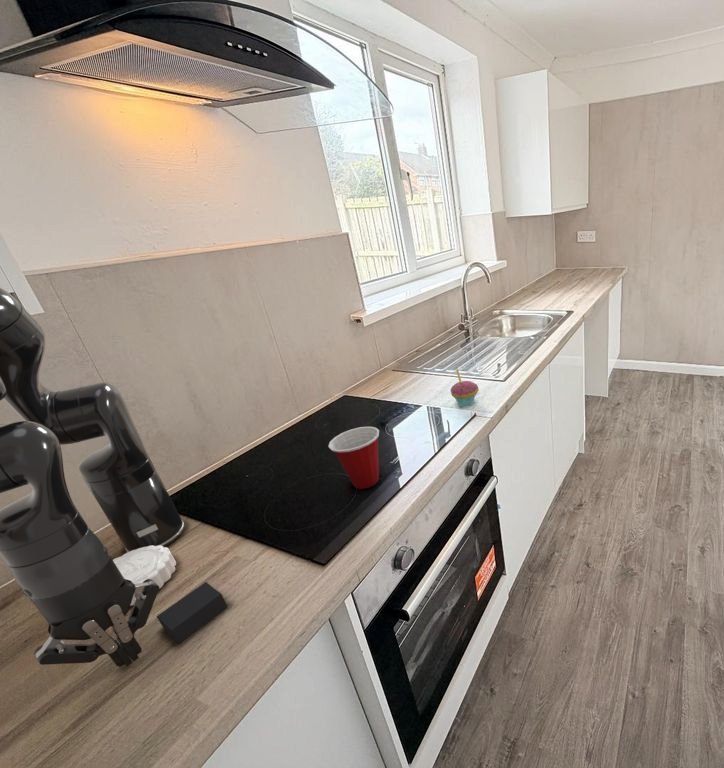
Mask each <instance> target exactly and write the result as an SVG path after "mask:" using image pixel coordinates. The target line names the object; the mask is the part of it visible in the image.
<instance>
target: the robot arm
mask: <svg viewBox="0 0 724 768" xmlns="http://www.w3.org/2000/svg"><path fill="white" fill-rule="evenodd" d="M46 343H47V342H46V335H45V332H44V329H43V328H42V326H41V325H40V323H38V321H37V320H36V319H35V318H34V317H33V316H32V315H31V314H30V312H28V311H27V309H26V308H25V307H24V306H23V305H22V304H21V302H19V301H18V300H17V299H16V298H15V297H14V296H13V294H11V293H10V292H8V291H7V290H5V289H4V288H2V287H1V286H0V401H2V400H3V401H4V402H6V403H7V404H8V405H9V407H11V408H12V409H13V411H15V413H17V414H18V415H19V416H20V418H21V419H22V420H23V421H22V420H21V421H15V422H10V423H8V424H4V425H0V494H3V493H5V492H8V491H12V490H15V489H19V488H22V487H24V486H28V485H30V487H31V488H32V490H31V492H29V493H27V494H26V495H25V496H23V497H20V498H19V499H17V500H15V501H14V502H11V503H10V504H8V505H6V506H4V507H3V508H1V509H0V557H1V558H2V560H3V561H4V563H5V564H6V565H7V566H8V568H9V570H10V572H11V574H12V577H13V579H14V580H15V582H16V584H18V586H19V587H20V589H21V591H22V594H24V595H25V596H26V597H27V598H28V599H29V601H31V603H32V604H33V605H34V606H35V608H36V609H37V610H38V612H39V613H40V614H41V615H42V617H43V618H44V620H46V622H47V623H48V627H47V632H48V634H49V636H48V638H47V639H46V641H45V642H44V644H41V645H40V646H37V647H36V648H35V649H34V652H33V654H34V656H35V658H36V660H37V662H38V664H39V665H42V666H46V665H67V664H89V663H90V664H91V663H93V662H95V661H97V660H98V659H99V657H101V656H103V655H108V657H109V658H110V659H111V660H112V662H113V663H114V665H115V666H116V667H119V668H121V667H122V666H124V665H125V666H126V667H129V666H130V665H132V664H133V663H134V662H136V661H137V660H139V659H140V657H139V654H141V653H142V651H143V650H142V647H141V645H140V644H139V642H138V641H137V639H136V638H135V634H136V632H137V631H138V630H140V629H143V628H144V627H145V626H146V624H147V622H148V620H149V616H150V614H151V611H152V609H153V606H154V603H155V601H156V598H157V595H158V593H159V590H160V589H159V586H158V585H157V584H156V583H155V582H154V581H153V580H152V579H146V580H145V581H144V582H143V583H137V584H133V583H132V582H131V581H130V580H127V579H124V577H123V576H122V574H121V573H120V571H119V569H118V568H117V566H116V565H115V563H114V562H113V560H114V559H113V558H112V556H111V555H110V554H109V551H108V550H109V549H108V548H107V546H105V545H104V544H103V542H102V541H101V539H100V538H99V537H98V535H96V533H94V532H93V530H91V529H90V527H89V526H88V524H87V523H86V521H85V520H84V518H83V516H82V515H81V513H80V512H79V509H77V507H76V505H75V504H74V502H73V500H72V497H71V495H70V491H69V489H68V486H67V485H68V484H67V482H66V477H65V469H64V460H63V452H62V446H65V445H73V444H77V443H82V442H86V441H89V440H94V439H97V438H102V437H105V436H106V438H107V439H108V441H109V442H108V443H107V444H105V445H104V446H102V447H101V448H99V449H97V450H95V451H94V452H92V453H90V454H89V455H87V456H86V457H85V458H83V459H82V460H81V461H80V463H79V464H78V466H77V468H78V472H79V474H80V476H81V477H82V479H83V481H84V482H85V484H86V486H87V488H88V489H89V491H90V492H91V494H92V495H93V497H94V498H95V500H96V502H97V504H98V505H99V507H100V508H101V510H102V512H103V513H104V515H105V517H106V518H107V520H108V522H109V523H110V525H111V527H112V528H113V530H114V531H115V534H116V535H117V537H118V538H119V540H120V542H121V544H122V545H123V547H124V550H125V551H126V553H127V552H130V551H132V550H136V549H138V548H142V547H148V546H151V545H153V546H158V545H161V546H163V547H166V546H168V545H170V544H172V543H174V541H175V540H177V539H178V538H179V537H180V536H181V535H182V534H183V532H184V531H185V529H186V524H185V522H184V520H183V519H182V517H181V516H180V513H179V512H178V509H177V507H176V505H175V503H174V501H173V499H172V498H171V496H170V494H169V492H168V490H167V488H166V486H165V484H164V482H163V481H162V478H161V476H160V475H159V472H158V471H157V469H156V467H155V465H154V463H153V461H152V459H151V457H150V456H149V454H148V452H147V449H146V447H145V445H144V442H143V439H142V437H141V435H140V433H139V431H138V429H137V427H136V425H135V423H134V420H133V418H132V416H131V413H130V410H129V408H128V405H127V403H126V401H125V399H124V397H123V395H122V393H121V392H120V391H119V389H118V388H117V387H115V386H114V385H113V384H111V383H110V382H96V383H91V384H86V385H81V386H76V387H71V388H66V389H61V390H56V391H54V390H51V389H49V388H47V387H45V385H43V383H42V382H41V381H40V372H41V367H42V363H43V360H44V356H45V352H46V345H47V344H46ZM134 593H135V594H134ZM133 596H135V597H136V601H135V603H134V605H132V609H131V611H130V614H129V617H128V619H126V615H127V614H128V612H129V610H130V607H131V606H130V604H131V601H132V598H133ZM109 628H111V629H112V630H113V633H114V634H115V636H116V637H117V638H116V639H114V638H113V637H111V635H110V634H109V633H108V632H107V630H108V629H109ZM91 639H92V640H93V641H94V642H95V643H81V644H79V643H75V644H71V643H70V644H69V643H68V644H66V642H65V640H66V641H87V640H91Z"/></svg>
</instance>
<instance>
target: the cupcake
mask: <svg viewBox="0 0 724 768" xmlns="http://www.w3.org/2000/svg"><path fill="white" fill-rule="evenodd" d="M455 372H456V375H457V379H458V382H456V383H454V384H453V385H452V386H451V388H450V392H451V393H450V394H451V397H452V398H454V399H455V401H456V402H457V404H458V406H459V407H470V406H472V405H473V404H474V402H475V397H476V395H477V394H478V393H479V391H480V388H479V385H478V384H477V383H475V382H473V381H471V380H462V378H461V373H460V371H459V368H458V367H457V366H455Z"/></svg>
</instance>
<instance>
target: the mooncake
mask: <svg viewBox="0 0 724 768" xmlns="http://www.w3.org/2000/svg"><path fill="white" fill-rule="evenodd" d="M112 560H113V562H114V563H115V565H116V566H117V568H118V569H119V571H120V573H121V574H122V576H123V577H124V579H127V580H130V581H131V582H132V583H133V584H137V583H143V582H144V581H145V580H146V579H152V580H153V581H154V582H155V583H156V584H157V585H158V586H159V590H160V589H161V588H162V587H163V586H164V585H165V583H166V582H168V581H169V580H170V579H171V577H172V574H174V572H175V571H176V567H175V566H176V565H177V561H176V560H175V558H174V556H173V554H172V552H171V551H170V549H169V548H168V547H166V546H165V547H163V546H161V545H158V546H153V545H151V546H148V547H142V548H138V549H136V550H132V551H130V552H127V551H126V552H125V553H124V554H123V555H122V556H119V557H116V558H114V559H112ZM134 594H135V593H134ZM135 601H136V597H135V596H133V598H132V601H131V604H130V607H133V606H134V603H135Z"/></svg>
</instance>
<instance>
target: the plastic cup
mask: <svg viewBox="0 0 724 768" xmlns="http://www.w3.org/2000/svg"><path fill="white" fill-rule="evenodd" d="M379 436H380V430H379V429H378V428H377V427H376V426H375V427H374V426H360V427H356V428H352V429H349V430H346V431H344V432H341V433H339V434H338V435H336V436H334V437H333V438H332V439H331V440H330V441H329V443H328V448H329V449H330V450H331V452H333V453H334V455H335V456H336V458H338V460H339V462H340V464H341V466H342V468H343V470H344V472H345V474H346V475H347V476H348V478H349V480H350V482H351V484H352V486H354V488H355V489H359V490H364V489H369V488H371V487H374V486H375V485H376V484H378V481H380V470H379V469H380V462H379V461H380V460H379Z"/></svg>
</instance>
